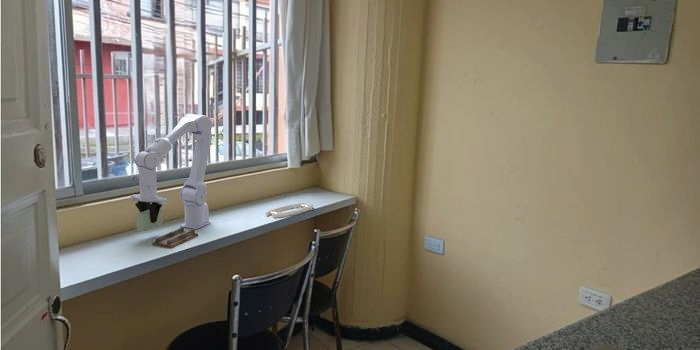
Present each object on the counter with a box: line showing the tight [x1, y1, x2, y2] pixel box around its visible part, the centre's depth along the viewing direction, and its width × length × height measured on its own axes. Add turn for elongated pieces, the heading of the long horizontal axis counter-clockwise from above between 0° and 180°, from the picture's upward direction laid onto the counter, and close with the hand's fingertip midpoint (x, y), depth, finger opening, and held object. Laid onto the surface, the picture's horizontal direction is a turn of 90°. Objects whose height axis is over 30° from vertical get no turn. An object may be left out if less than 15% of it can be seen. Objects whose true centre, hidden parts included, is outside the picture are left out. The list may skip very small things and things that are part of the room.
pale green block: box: [135, 207, 164, 232], centre depth 178 cm, size 10×3×6 cm, turn 161°
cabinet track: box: [151, 227, 199, 249], centre depth 177 cm, size 15×8×2 cm, turn 161°
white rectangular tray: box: [264, 201, 314, 219], centre depth 220 cm, size 3×10×25 cm
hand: (149, 221), depth 178 cm, fingers closed on pale green block, 3 cm apart
